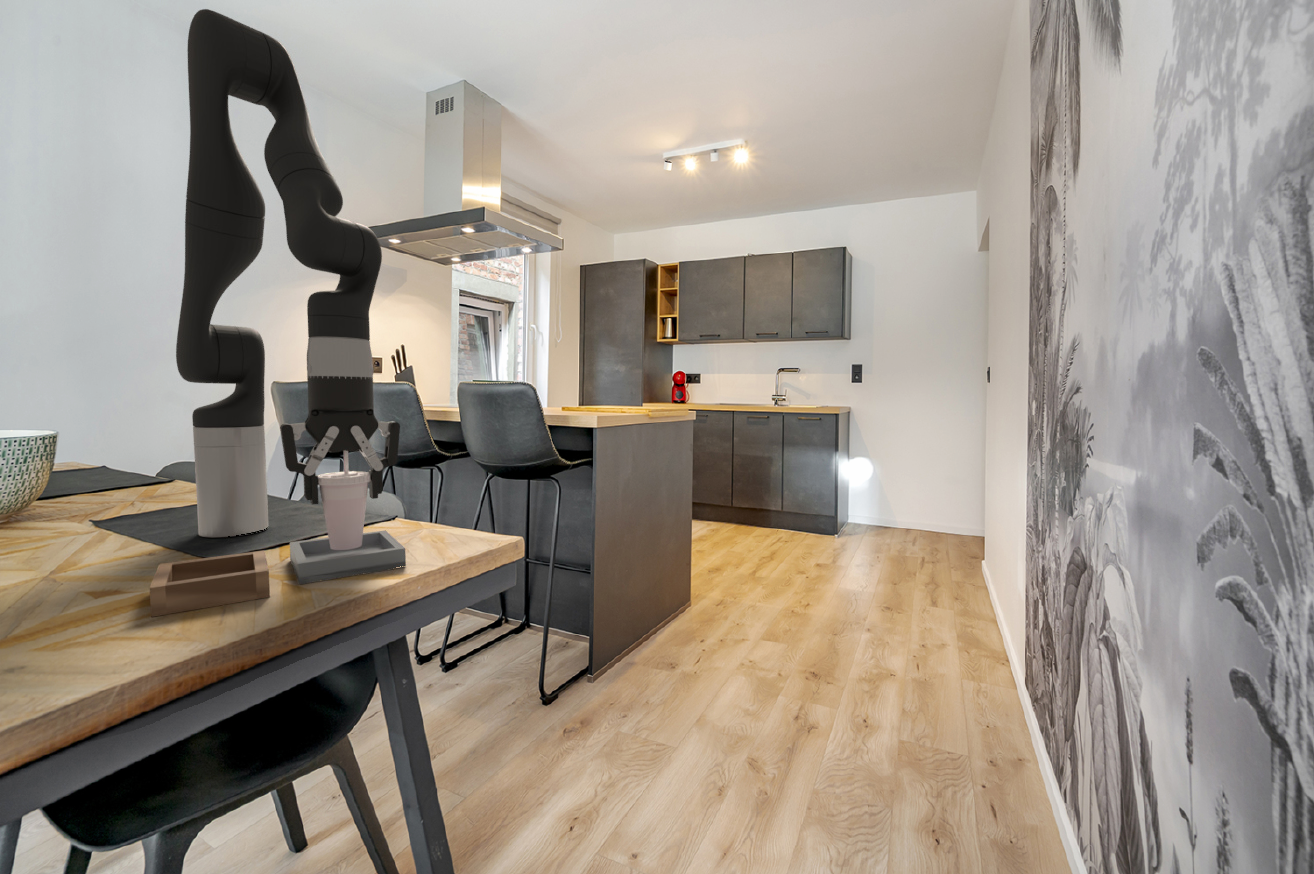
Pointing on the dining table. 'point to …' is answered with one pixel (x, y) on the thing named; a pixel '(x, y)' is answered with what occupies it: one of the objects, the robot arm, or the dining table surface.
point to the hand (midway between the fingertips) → (344, 500)
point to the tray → (345, 557)
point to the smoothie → (344, 505)
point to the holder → (209, 582)
